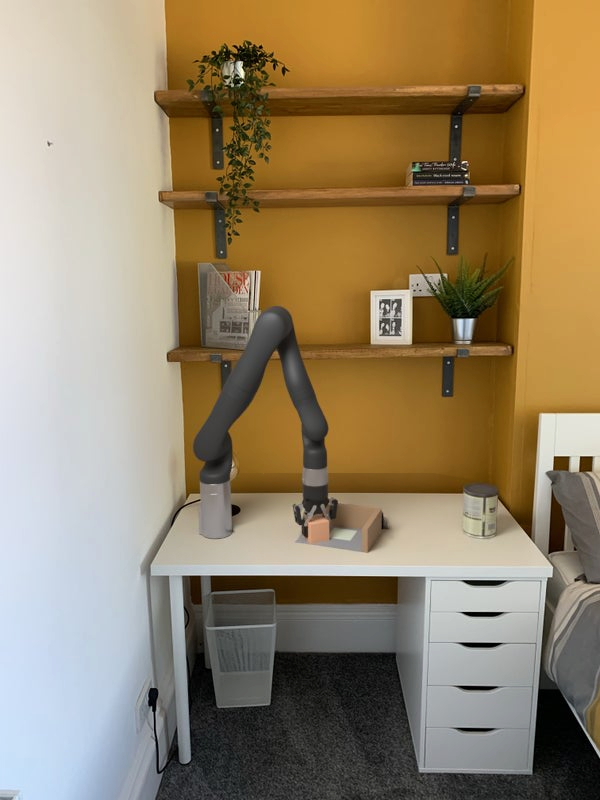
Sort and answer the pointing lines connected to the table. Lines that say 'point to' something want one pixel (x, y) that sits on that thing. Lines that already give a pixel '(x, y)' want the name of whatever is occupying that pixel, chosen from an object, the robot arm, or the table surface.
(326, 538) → the cube
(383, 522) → the black notched block
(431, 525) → the table surface
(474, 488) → the coffee can
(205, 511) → the robot arm
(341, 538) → the arena
